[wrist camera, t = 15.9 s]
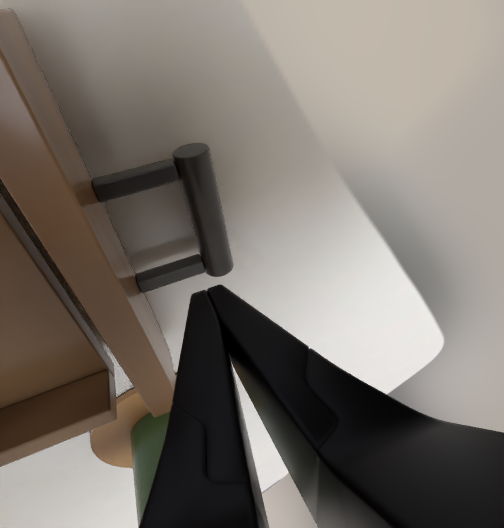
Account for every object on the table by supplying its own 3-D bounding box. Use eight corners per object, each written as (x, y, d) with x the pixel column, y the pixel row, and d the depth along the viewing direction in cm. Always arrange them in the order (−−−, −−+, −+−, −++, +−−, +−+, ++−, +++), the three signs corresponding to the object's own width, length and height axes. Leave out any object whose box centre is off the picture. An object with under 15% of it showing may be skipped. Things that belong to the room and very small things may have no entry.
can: (197, 392, 20) (242, 557, 14) (212, 428, 23) (255, 576, 17) (118, 424, 19) (130, 614, 13) (144, 457, 22) (164, 625, 16)
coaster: (246, 424, 25) (248, 429, 25) (124, 477, 23) (124, 483, 23) (225, 351, 19) (227, 356, 19) (61, 415, 18) (60, 421, 17)
